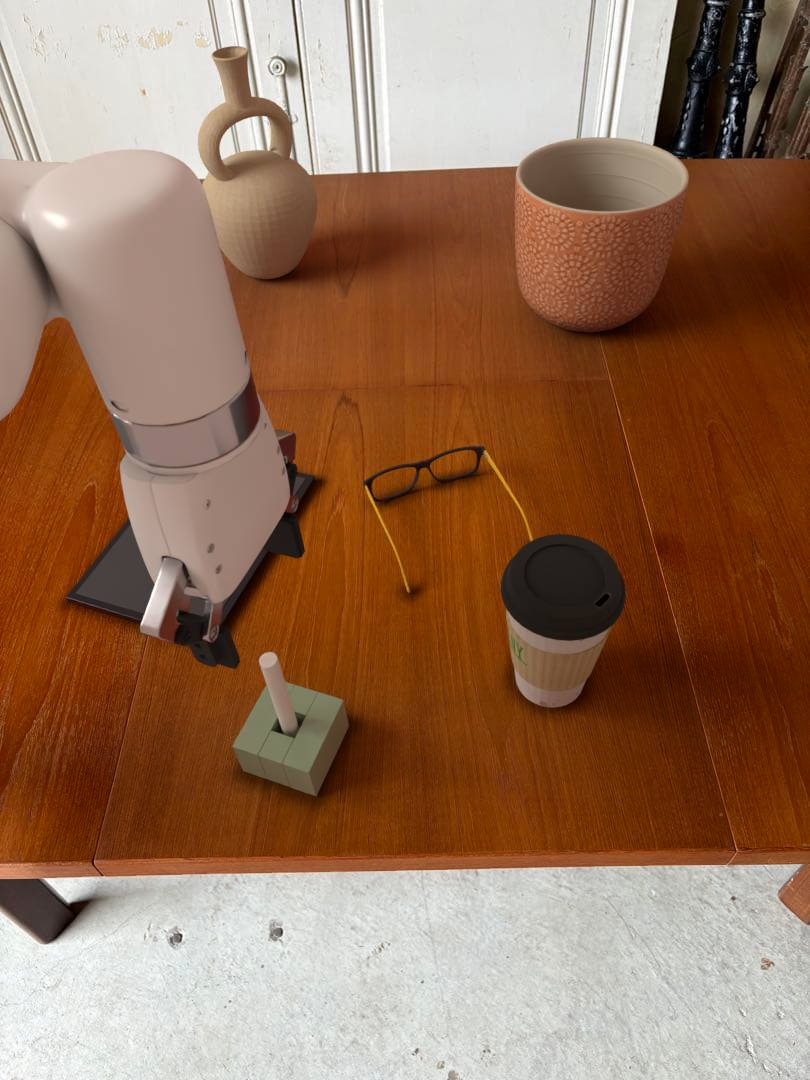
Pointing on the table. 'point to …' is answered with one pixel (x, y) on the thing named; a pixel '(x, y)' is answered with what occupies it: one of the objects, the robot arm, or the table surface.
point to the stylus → (279, 693)
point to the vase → (255, 180)
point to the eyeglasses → (426, 464)
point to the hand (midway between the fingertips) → (253, 602)
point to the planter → (595, 229)
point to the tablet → (128, 586)
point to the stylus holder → (288, 757)
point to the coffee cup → (559, 614)
